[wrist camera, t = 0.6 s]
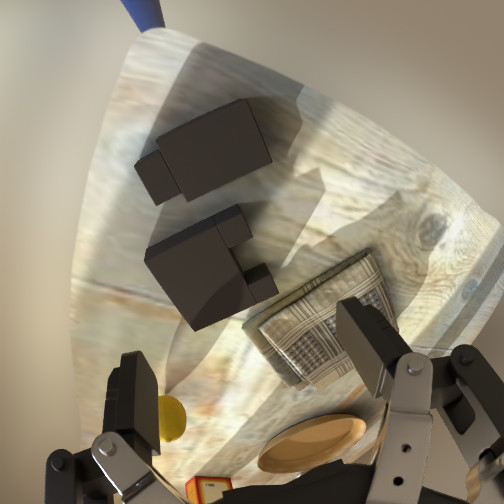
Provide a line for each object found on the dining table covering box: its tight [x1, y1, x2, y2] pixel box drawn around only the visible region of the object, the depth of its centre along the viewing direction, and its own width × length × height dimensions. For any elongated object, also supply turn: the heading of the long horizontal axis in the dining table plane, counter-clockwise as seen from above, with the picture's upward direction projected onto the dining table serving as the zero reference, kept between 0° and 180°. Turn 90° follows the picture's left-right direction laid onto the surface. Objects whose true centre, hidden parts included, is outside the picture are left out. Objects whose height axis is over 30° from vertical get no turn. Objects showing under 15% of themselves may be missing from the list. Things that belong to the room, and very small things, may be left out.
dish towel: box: [242, 248, 399, 392], centre depth 39 cm, size 19×18×3 cm
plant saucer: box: [257, 414, 367, 474], centre depth 55 cm, size 24×24×3 cm
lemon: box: [158, 395, 186, 442], centre depth 37 cm, size 6×6×8 cm
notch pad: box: [144, 204, 279, 332], centre depth 31 cm, size 10×10×2 cm
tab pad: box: [134, 99, 272, 206], centre depth 25 cm, size 6×10×2 cm, turn 112°
